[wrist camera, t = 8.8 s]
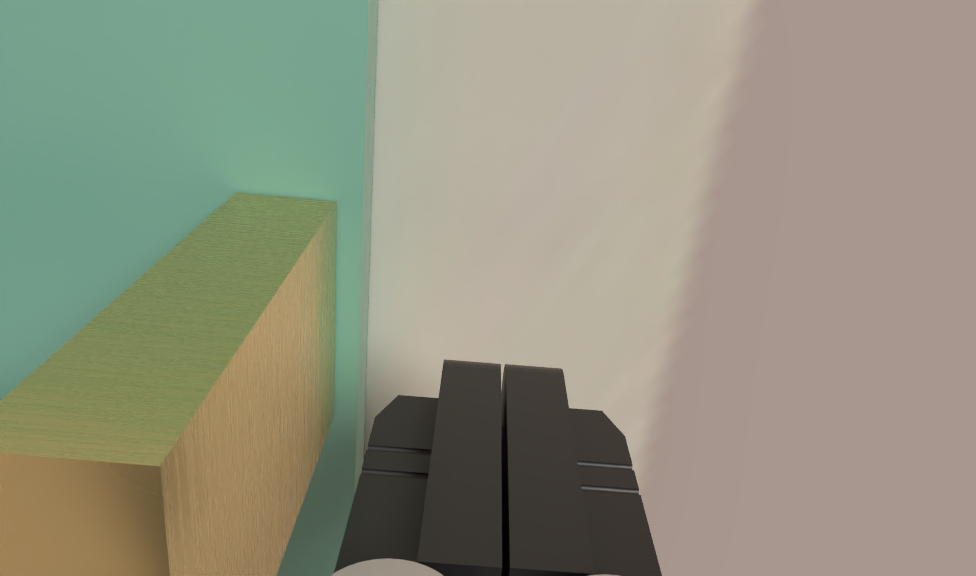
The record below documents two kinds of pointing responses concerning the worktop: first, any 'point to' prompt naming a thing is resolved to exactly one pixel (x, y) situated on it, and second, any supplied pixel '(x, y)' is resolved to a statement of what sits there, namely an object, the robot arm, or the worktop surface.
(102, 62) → the pcb board
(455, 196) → the worktop surface
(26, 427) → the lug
